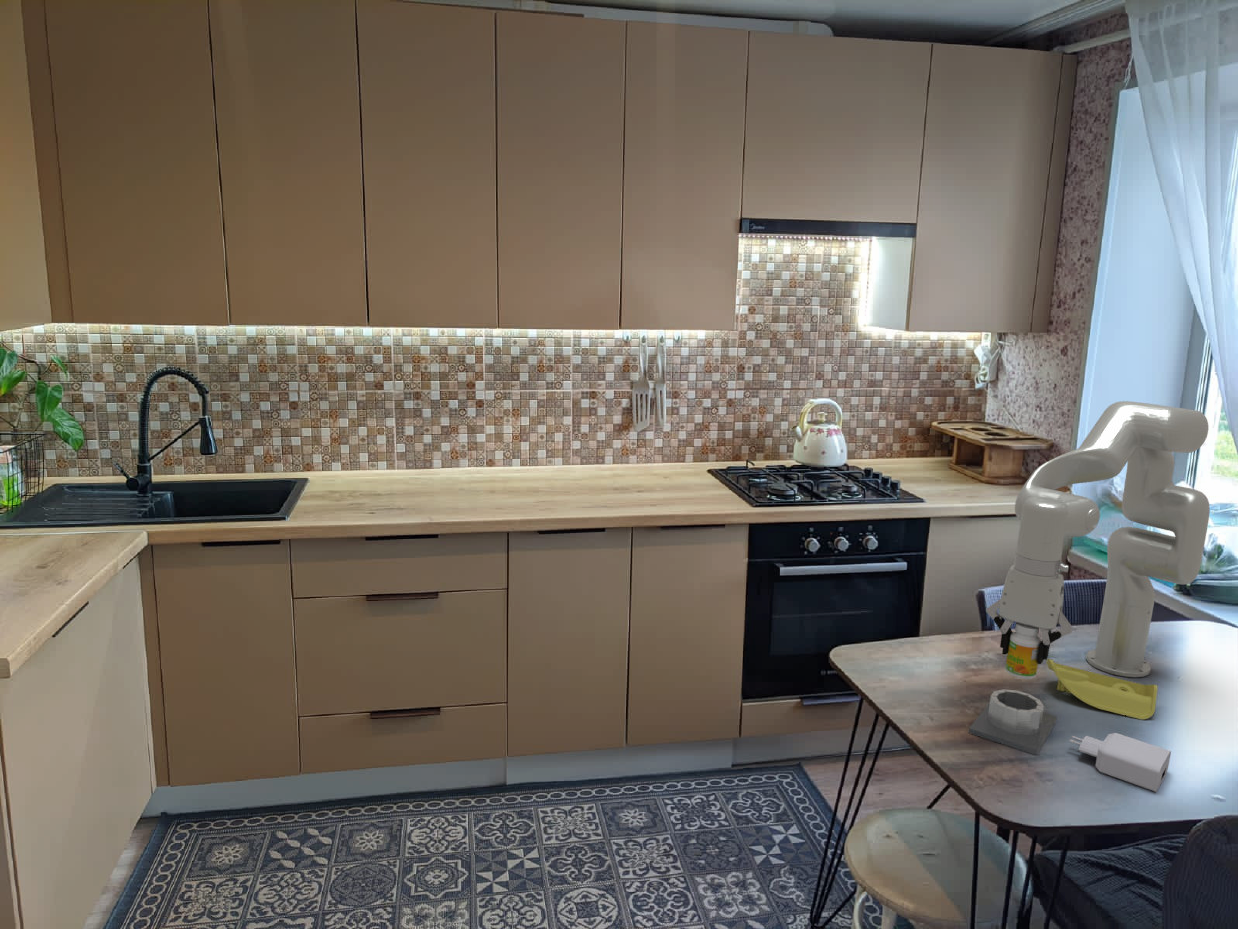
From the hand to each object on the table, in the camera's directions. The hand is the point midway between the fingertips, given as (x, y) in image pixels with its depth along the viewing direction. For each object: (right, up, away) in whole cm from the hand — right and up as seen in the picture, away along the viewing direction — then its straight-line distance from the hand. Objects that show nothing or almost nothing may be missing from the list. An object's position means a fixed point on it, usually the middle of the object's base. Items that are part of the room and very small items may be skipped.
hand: (1023, 656), depth 169 cm
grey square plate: (0, -14, +3) cm, 15 cm away
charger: (+12, -18, -9) cm, 23 cm away
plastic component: (+23, -13, +17) cm, 31 cm away
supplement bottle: (0, -4, +1) cm, 4 cm away
